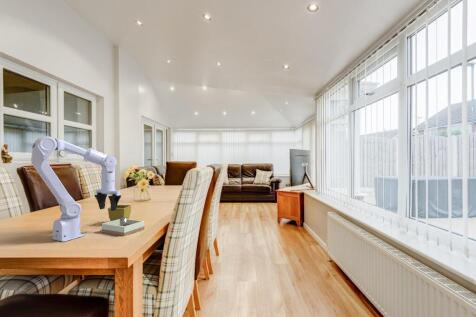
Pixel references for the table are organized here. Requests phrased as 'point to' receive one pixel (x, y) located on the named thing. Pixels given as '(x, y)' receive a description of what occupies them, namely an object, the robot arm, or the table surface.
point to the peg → (123, 221)
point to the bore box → (122, 227)
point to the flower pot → (119, 212)
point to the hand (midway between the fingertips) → (107, 209)
